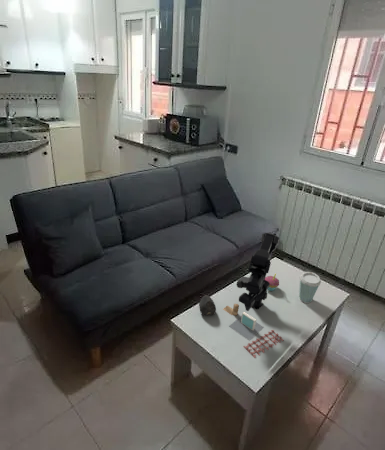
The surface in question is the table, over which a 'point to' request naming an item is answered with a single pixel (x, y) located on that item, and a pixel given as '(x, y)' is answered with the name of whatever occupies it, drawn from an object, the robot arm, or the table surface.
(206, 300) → the stone
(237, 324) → the mat
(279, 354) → the table surface
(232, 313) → the turner
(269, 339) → the red lattice rack
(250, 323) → the tile
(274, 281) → the cupcake
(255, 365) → the table surface
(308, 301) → the disposable coffee cup
